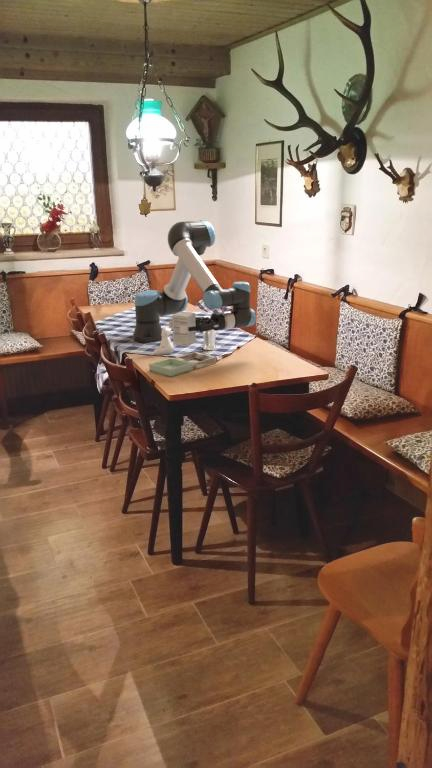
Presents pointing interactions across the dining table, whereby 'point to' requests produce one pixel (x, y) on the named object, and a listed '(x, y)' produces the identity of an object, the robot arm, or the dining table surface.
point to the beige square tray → (206, 358)
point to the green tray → (170, 367)
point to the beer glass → (209, 339)
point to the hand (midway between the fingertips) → (174, 327)
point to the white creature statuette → (165, 343)
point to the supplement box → (183, 320)
